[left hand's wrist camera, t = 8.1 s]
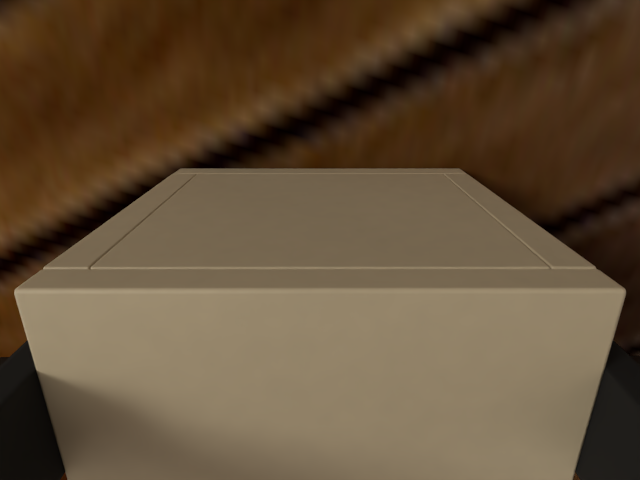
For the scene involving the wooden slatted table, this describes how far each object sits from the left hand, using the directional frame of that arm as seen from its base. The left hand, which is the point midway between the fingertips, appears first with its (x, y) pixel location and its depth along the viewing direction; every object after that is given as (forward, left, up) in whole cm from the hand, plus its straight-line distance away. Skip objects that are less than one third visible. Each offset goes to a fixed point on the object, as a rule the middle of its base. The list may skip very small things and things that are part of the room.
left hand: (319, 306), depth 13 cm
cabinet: (+2, +5, -5) cm, 8 cm away
